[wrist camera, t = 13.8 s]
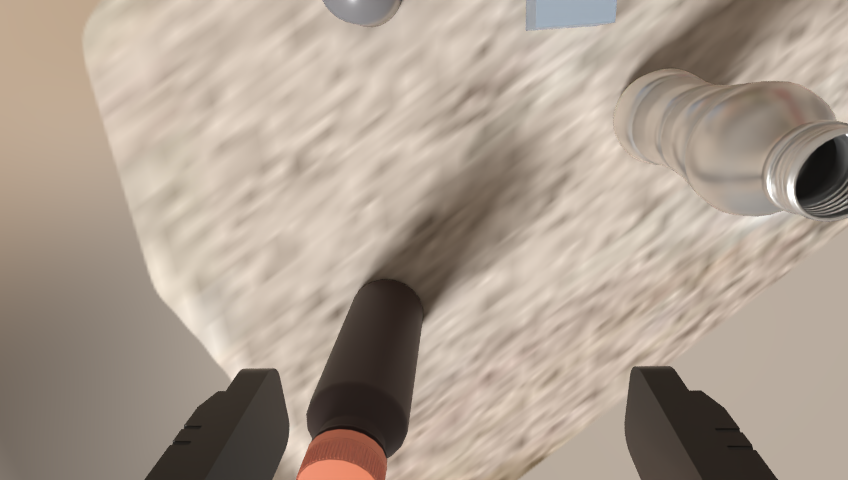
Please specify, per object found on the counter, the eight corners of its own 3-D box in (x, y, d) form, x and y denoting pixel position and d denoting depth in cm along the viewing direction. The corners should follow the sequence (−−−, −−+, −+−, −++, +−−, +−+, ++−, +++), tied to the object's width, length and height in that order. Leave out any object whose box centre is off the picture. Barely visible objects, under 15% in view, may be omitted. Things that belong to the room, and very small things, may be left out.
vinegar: (371, 265, 43) (306, 425, 25) (436, 298, 44) (420, 478, 25) (341, 320, 46) (260, 504, 27) (403, 350, 46) (365, 549, 28)
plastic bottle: (705, 73, 35) (976, 97, 17) (675, 162, 38) (881, 267, 19) (619, 61, 35) (796, 71, 17) (595, 150, 38) (725, 244, 19)
